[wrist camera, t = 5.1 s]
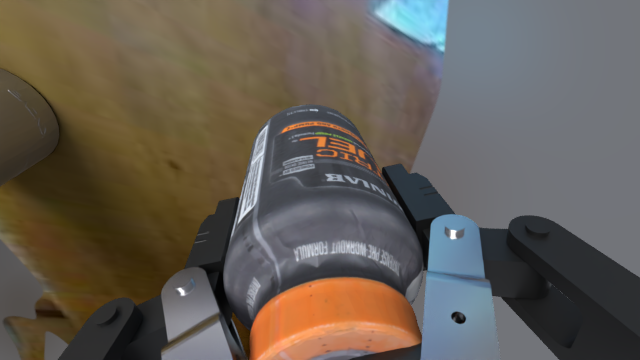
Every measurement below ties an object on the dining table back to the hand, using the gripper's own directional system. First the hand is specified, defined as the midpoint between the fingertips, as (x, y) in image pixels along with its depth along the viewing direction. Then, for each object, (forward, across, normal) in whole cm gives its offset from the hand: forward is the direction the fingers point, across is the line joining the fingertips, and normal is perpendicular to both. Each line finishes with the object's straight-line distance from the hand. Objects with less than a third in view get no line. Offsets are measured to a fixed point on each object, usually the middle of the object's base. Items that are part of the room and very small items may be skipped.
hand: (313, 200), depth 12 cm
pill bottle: (+4, 0, 0) cm, 4 cm away
